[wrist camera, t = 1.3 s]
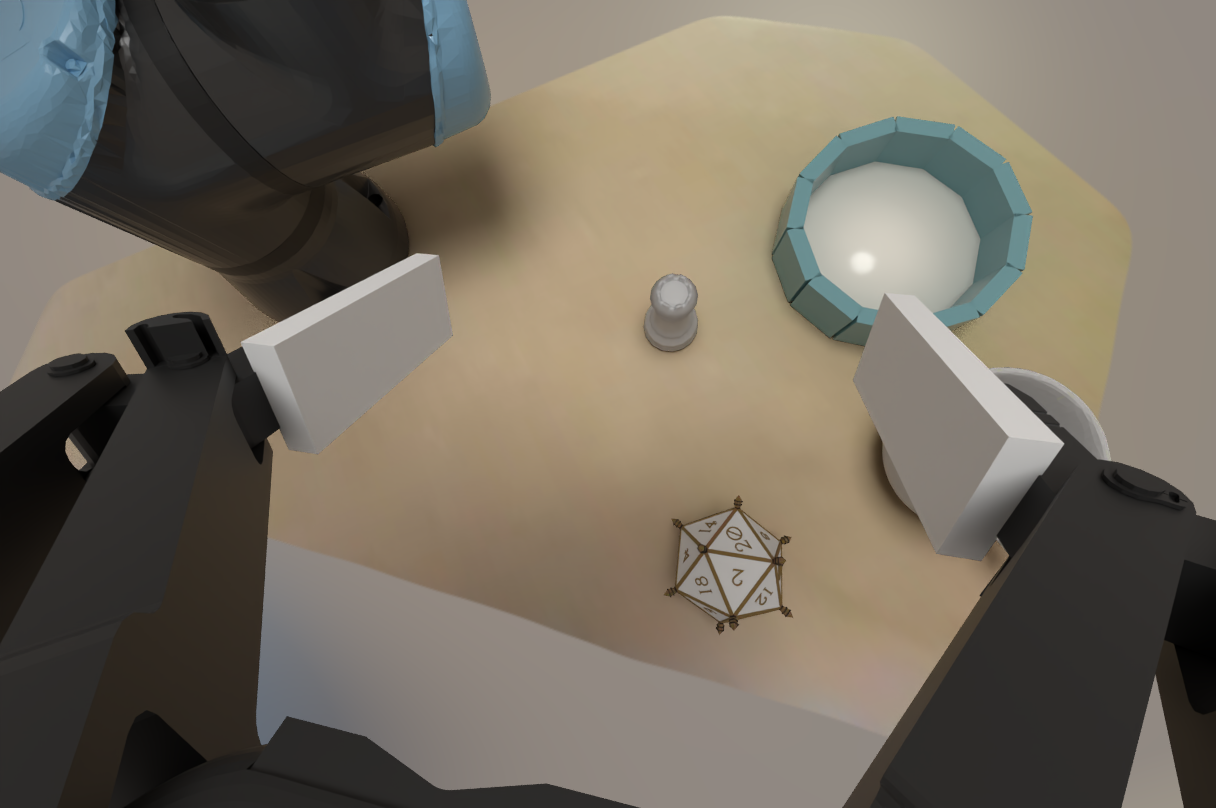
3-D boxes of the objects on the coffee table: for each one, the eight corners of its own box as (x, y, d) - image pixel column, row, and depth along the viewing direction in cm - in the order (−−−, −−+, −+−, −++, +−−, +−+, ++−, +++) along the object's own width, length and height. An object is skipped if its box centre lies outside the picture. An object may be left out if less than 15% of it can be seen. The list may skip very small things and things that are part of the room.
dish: (756, 323, 38) (769, 304, 34) (796, 144, 40) (813, 104, 36) (967, 367, 36) (1011, 353, 32) (999, 176, 38) (1045, 137, 34)
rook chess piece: (695, 299, 39) (705, 256, 31) (699, 351, 39) (710, 320, 31) (642, 303, 40) (639, 262, 32) (645, 354, 39) (642, 325, 31)
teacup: (848, 403, 37) (901, 385, 29) (990, 374, 36) (1083, 348, 28) (899, 584, 35) (971, 617, 27) (1051, 557, 34) (1170, 584, 26)
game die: (691, 540, 40) (631, 502, 33) (788, 509, 37) (743, 459, 30) (716, 656, 35) (650, 639, 28) (832, 632, 31) (790, 605, 25)
